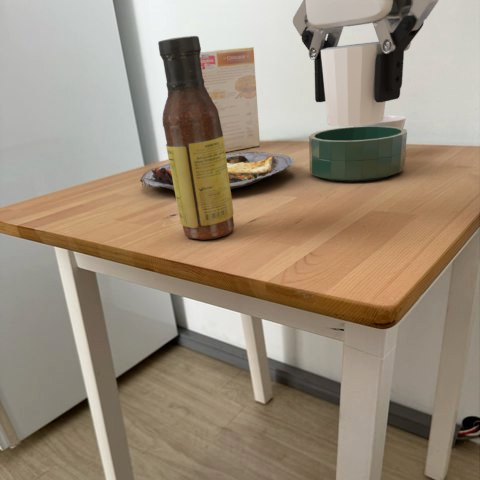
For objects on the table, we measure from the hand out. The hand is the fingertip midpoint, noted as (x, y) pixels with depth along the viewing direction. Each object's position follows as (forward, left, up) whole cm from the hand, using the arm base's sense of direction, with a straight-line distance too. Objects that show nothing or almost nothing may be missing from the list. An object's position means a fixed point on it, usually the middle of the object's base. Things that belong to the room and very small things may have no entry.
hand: (355, 98), depth 48 cm
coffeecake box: (-23, -55, -13) cm, 62 cm away
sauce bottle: (+13, -11, -13) cm, 21 cm away
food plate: (-4, -32, -13) cm, 35 cm away
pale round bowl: (-32, -21, -13) cm, 41 cm away
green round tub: (-20, -16, -13) cm, 29 cm away
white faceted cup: (0, 0, -2) cm, 2 cm away
